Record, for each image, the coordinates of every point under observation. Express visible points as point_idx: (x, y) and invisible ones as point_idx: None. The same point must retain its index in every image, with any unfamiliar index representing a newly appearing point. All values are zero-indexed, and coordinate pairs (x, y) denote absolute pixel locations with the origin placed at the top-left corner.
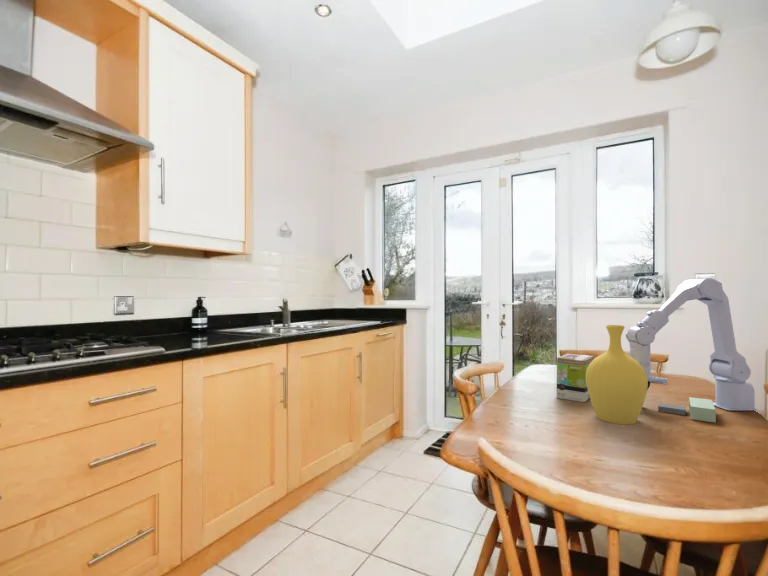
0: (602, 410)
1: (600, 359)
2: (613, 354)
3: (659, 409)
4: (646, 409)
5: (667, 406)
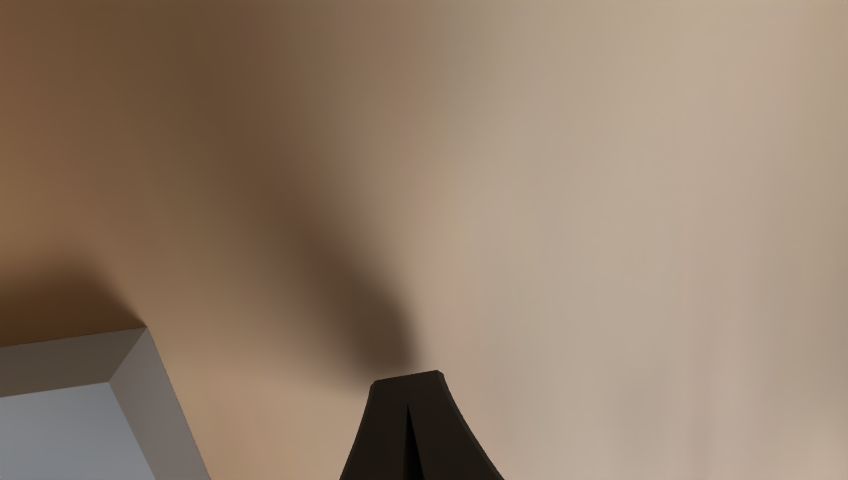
0: None
1: None
2: None
3: (116, 349)
4: (307, 301)
5: (1, 466)
